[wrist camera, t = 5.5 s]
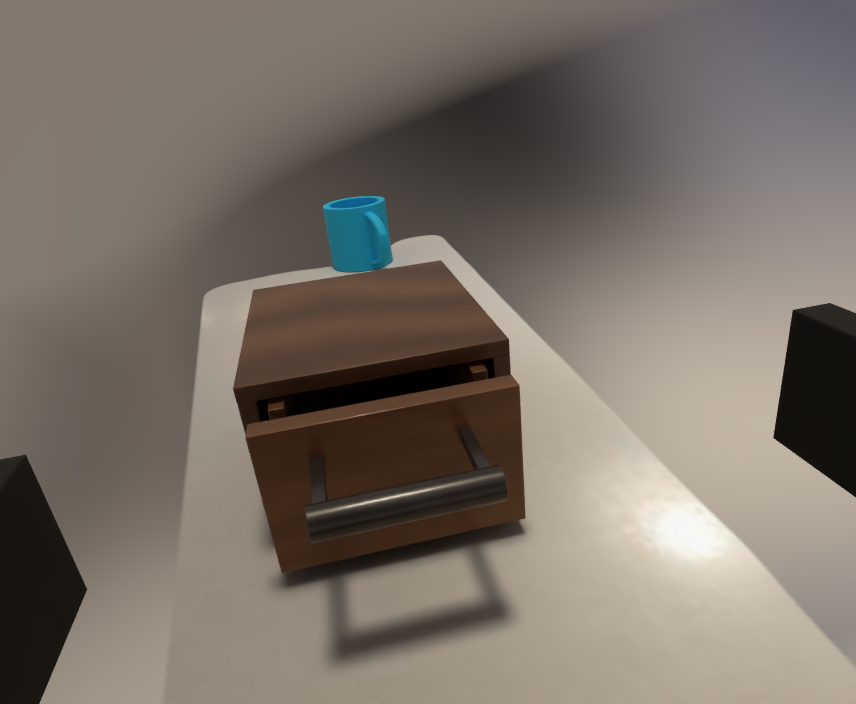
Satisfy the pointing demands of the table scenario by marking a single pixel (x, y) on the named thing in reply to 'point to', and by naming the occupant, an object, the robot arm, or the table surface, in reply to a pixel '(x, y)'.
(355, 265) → the mug
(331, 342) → the cabinet
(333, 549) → the drawer
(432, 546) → the table surface
